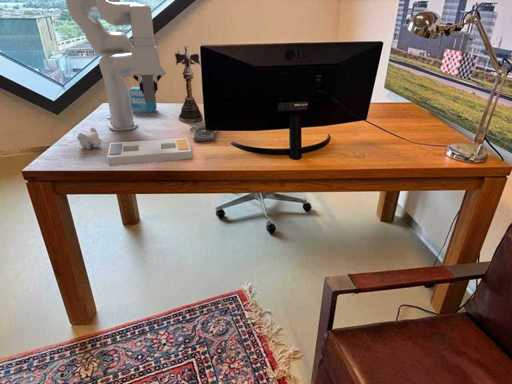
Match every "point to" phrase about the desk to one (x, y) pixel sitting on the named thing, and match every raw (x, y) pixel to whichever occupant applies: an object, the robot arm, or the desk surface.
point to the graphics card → (202, 132)
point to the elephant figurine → (89, 139)
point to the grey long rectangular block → (148, 88)
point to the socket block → (148, 151)
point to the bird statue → (188, 88)
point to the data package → (140, 101)
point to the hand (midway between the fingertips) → (149, 92)
